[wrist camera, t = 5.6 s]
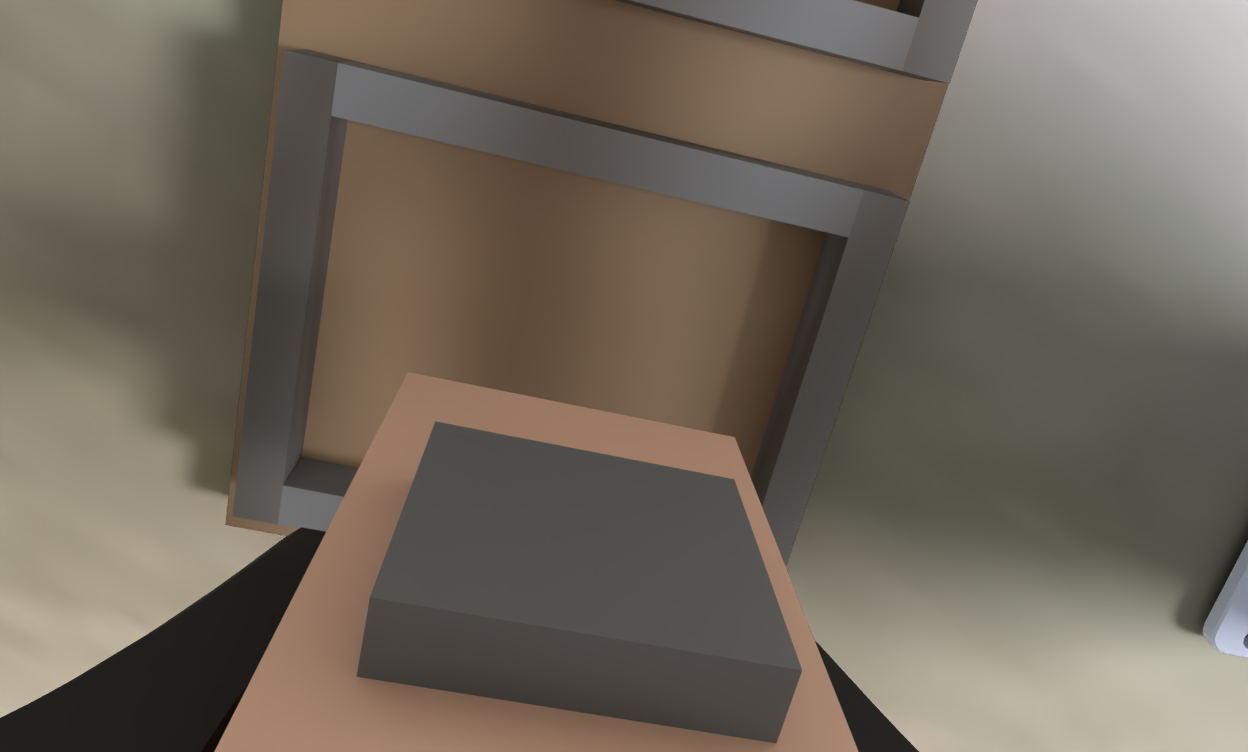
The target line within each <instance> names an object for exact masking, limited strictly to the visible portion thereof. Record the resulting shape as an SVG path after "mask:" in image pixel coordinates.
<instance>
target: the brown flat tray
mask: <svg viewBox="0 0 1248 752" xmlns="http://www.w3.org/2000/svg"><path fill="white" fill-rule="evenodd" d="M977 1H978V0H283V3H282V12H281V21H280V31H279V40H278V49H277V58H276V67H275V76H274V85H273V95H272V104H271V113H270V122H269V131H268V140H267V149H266V159H265V168H264V177H263V186H262V195H261V204H260V213H259V223H258V232H257V241H256V250H255V259H254V268H253V277H252V287H251V296H250V305H249V314H248V323H247V332H246V341H245V351H244V360H243V369H242V378H241V387H240V396H239V405H238V415H237V424H236V433H235V442H234V451H233V460H232V469H231V479H230V488H229V497H228V506H227V515H226V524H225V525H229V526H234V527H240V528H246V529H251V530H257V531H262V532H268V533H273V534H279V535H285V536H288V535H289V534H291V533H293V532H294V531H296V530H297V529H299V528H301V527H303V528H309V529H314V530H320V531H325V532H326V531H327V530H328V528H329V526H330V524H331V522H332V520H333V518H334V516H335V514H336V512H337V510H338V508H339V506H340V504H341V502H342V500H343V498H344V496H345V494H346V492H347V490H348V488H349V486H350V484H351V482H352V480H353V478H354V476H355V475H356V473H357V471H358V469H359V467H360V465H361V463H362V461H363V459H364V457H365V455H366V453H367V451H368V449H369V447H370V445H371V443H372V441H373V439H374V437H375V435H376V433H377V431H378V429H379V427H380V425H381V423H382V421H383V420H384V418H385V416H386V414H387V412H388V410H389V408H390V406H391V404H392V402H393V400H394V398H395V396H396V394H397V392H398V390H399V388H400V386H401V384H402V382H403V380H404V378H405V376H406V374H407V372H411V373H416V374H421V375H426V376H431V377H436V378H441V379H446V380H451V381H456V382H461V383H466V384H471V385H476V386H481V387H486V388H491V389H496V390H501V391H506V392H511V393H516V394H521V395H526V396H531V397H536V398H541V399H546V400H551V401H556V402H561V403H566V404H571V405H576V406H581V407H586V408H591V409H596V410H601V411H606V412H611V413H616V414H621V415H626V416H631V417H636V418H641V419H646V420H651V421H656V422H661V423H666V424H671V425H676V426H681V427H686V428H691V429H696V430H701V431H706V432H711V433H716V434H721V435H726V436H731V437H735V440H736V442H737V445H738V447H739V450H740V452H741V455H742V457H743V460H744V462H745V465H746V467H747V470H748V472H749V475H750V478H751V480H752V483H753V485H754V488H755V490H756V493H757V495H758V498H759V500H760V503H761V505H762V508H763V511H764V513H765V516H766V518H767V521H768V523H769V526H770V528H771V531H772V533H773V536H774V538H775V541H776V544H777V546H778V549H779V551H780V554H781V556H782V559H783V561H784V564H785V566H786V565H787V562H788V559H789V556H790V553H791V550H792V547H793V544H794V541H795V538H796V535H797V532H798V529H799V526H800V523H801V520H802V517H803V515H804V512H805V509H806V506H807V503H808V500H809V497H810V494H811V491H812V488H813V485H814V482H815V479H816V476H817V473H818V470H819V467H820V464H821V461H822V458H823V455H824V453H825V450H826V447H827V444H828V441H829V438H830V435H831V432H832V429H833V426H834V423H835V420H836V417H837V414H838V411H839V408H840V405H841V402H842V399H843V396H844V393H845V391H846V388H847V385H848V382H849V379H850V376H851V373H852V370H853V367H854V364H855V361H856V358H857V355H858V352H859V349H860V346H861V343H862V340H863V337H864V334H865V331H866V329H867V326H868V323H869V320H870V317H871V314H872V311H873V308H874V305H875V302H876V299H877V296H878V293H879V290H880V287H881V284H882V281H883V278H884V275H885V272H886V269H887V267H888V264H889V261H890V258H891V255H892V252H893V249H894V246H895V243H896V240H897V237H898V234H899V231H900V228H901V225H902V222H903V219H904V216H905V213H906V210H907V207H908V205H909V202H910V201H909V199H910V196H911V193H912V190H913V187H914V184H915V181H916V179H917V176H918V173H919V170H920V167H921V164H922V161H923V158H924V155H925V152H926V149H927V146H928V143H929V140H930V137H931V134H932V131H933V128H934V125H935V122H936V119H937V116H938V114H939V111H940V108H941V105H942V102H943V99H944V96H945V93H946V90H947V87H948V84H949V83H950V81H951V78H952V75H953V72H954V69H955V66H956V63H957V60H958V57H959V54H960V51H961V48H962V45H963V42H964V39H965V36H966V33H967V30H968V27H969V24H970V21H971V19H972V16H973V13H974V10H975V7H976V4H977Z"/></svg>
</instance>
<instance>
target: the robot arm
mask: <svg viewBox="0 0 1248 752" xmlns="http://www.w3.org/2000/svg"><path fill="white" fill-rule="evenodd" d="M325 533H326V532H325V531H320V530H314V529H309V528H303V527H301V528H299V529H297V530H296V531H294V532H293V533H291V534H289V535H288V536H286V537H285V538H284V539H282V540H281V541H280V542H278V543H277V544H275V545H274V546H273V547H271V548H270V549H269V550H267V551H266V552H265V553H263V554H262V555H261V556H259V557H258V558H257V559H255V560H254V561H253V562H251V563H250V564H249V565H247V566H246V567H245V568H243V569H242V570H240V571H239V572H238V573H236V574H235V575H233V576H232V577H231V578H229V579H228V580H227V581H225V582H224V583H222V584H221V585H220V586H218V587H217V588H215V589H214V590H213V591H211V592H210V593H208V594H207V595H205V596H204V597H202V598H201V599H199V600H198V601H196V602H195V603H193V604H192V605H191V606H189V607H188V608H186V609H185V610H183V611H182V612H180V613H179V614H177V615H176V616H174V617H173V618H171V619H170V620H168V621H167V622H166V623H164V624H163V625H161V626H160V627H158V628H156V629H155V630H153V631H152V632H150V633H149V634H147V635H146V636H144V637H142V638H141V639H139V640H137V641H136V642H134V643H132V644H131V645H129V646H128V647H126V648H124V649H123V650H121V651H119V652H118V653H116V654H114V655H113V656H111V657H109V658H108V659H106V660H104V661H103V662H101V663H100V664H98V665H96V666H95V667H93V668H91V669H90V670H88V671H86V672H85V673H83V674H81V675H80V676H78V677H76V678H75V679H73V680H71V681H69V682H68V683H66V684H64V685H62V686H61V687H59V688H57V689H55V690H53V691H52V692H50V693H48V694H46V695H44V696H42V697H41V698H39V699H37V700H35V701H33V702H31V703H29V704H27V705H25V706H23V707H21V708H19V709H17V710H15V711H13V712H11V713H9V714H7V715H5V716H3V717H1V718H0V752H214V751H215V749H216V747H217V746H218V744H219V742H220V740H221V738H222V736H223V734H224V732H225V730H226V728H227V726H228V724H229V722H230V720H231V718H232V716H233V714H234V712H235V710H236V708H237V706H238V704H239V702H240V700H241V698H242V696H243V694H244V693H245V691H246V689H247V687H248V685H249V683H250V681H251V679H252V677H253V675H254V673H255V671H256V669H257V667H258V665H259V663H260V661H261V659H262V657H263V655H264V653H265V651H266V649H267V647H268V645H269V643H270V641H271V639H272V638H273V636H274V634H275V632H276V630H277V628H278V626H279V624H280V622H281V620H282V618H283V616H284V614H285V612H286V610H287V608H288V606H289V604H290V602H291V600H292V598H293V596H294V594H295V592H296V590H297V588H298V586H299V584H300V583H301V581H302V579H303V577H304V575H305V573H306V571H307V569H308V567H309V565H310V563H311V561H312V559H313V557H314V555H315V553H316V551H317V549H318V547H319V545H320V543H321V541H322V539H323V537H324V535H325ZM1247 634H1248V541H1247V543H1246V545H1245V547H1244V549H1243V550H1242V552H1241V554H1240V556H1239V558H1238V560H1237V562H1236V564H1235V566H1234V568H1233V570H1232V572H1231V574H1230V575H1229V577H1228V579H1227V581H1226V583H1225V585H1224V587H1223V589H1222V591H1221V593H1220V595H1219V597H1218V598H1217V600H1216V602H1215V604H1214V606H1213V608H1212V610H1211V612H1210V614H1209V616H1208V618H1207V620H1206V622H1205V624H1204V627H1203V635H1204V638H1205V639H1206V640H1207V641H1208V642H1209V643H1210V644H1211V645H1212V646H1213V647H1214V648H1215V649H1216V650H1217V651H1219V652H1222V653H1225V654H1230V655H1236V656H1241V657H1246V658H1248V637H1246V635H1247ZM1245 637H1246V638H1245ZM815 643H816V645H817V648H818V650H819V653H820V655H821V658H822V660H823V663H824V665H825V668H826V670H827V673H828V676H829V678H830V681H831V683H832V686H833V688H834V691H835V693H836V696H837V698H838V701H839V703H840V706H841V708H842V711H843V714H844V716H845V719H846V721H847V724H848V726H849V729H850V731H851V734H852V736H853V739H854V741H855V744H856V747H857V749H858V752H919V751H918V750H917V749H916V748H915V747H914V746H913V745H912V744H911V743H910V742H909V741H908V740H907V739H906V738H905V737H904V736H903V735H902V734H901V733H900V732H899V731H898V730H897V729H896V727H895V726H894V725H893V724H892V723H891V722H890V721H889V720H888V719H887V718H886V717H885V716H884V715H883V714H882V713H881V712H880V710H879V709H878V708H877V707H876V706H875V705H874V704H873V703H872V702H871V701H870V700H869V699H868V698H867V696H866V695H865V694H864V693H863V692H862V691H861V690H860V689H859V688H858V687H857V686H856V684H855V683H854V682H853V681H852V680H851V679H850V678H849V677H848V676H847V675H846V674H845V672H844V671H843V670H842V669H841V668H840V667H839V666H838V665H837V664H836V663H835V662H834V660H833V659H832V658H831V657H830V656H829V655H828V654H827V653H826V652H825V651H824V650H823V648H822V647H821V646H820V645H819V644H818V643H817V642H816V641H815Z"/></svg>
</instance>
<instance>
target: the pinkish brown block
mask: <svg viewBox="0 0 1248 752" xmlns="http://www.w3.org/2000/svg"><path fill="white" fill-rule="evenodd" d="M214 752H858V749H857V747H856V744H855V741H854V739H853V736H852V734H851V731H850V729H849V726H848V724H847V721H846V719H845V716H844V714H843V711H842V708H841V706H840V703H839V701H838V698H837V696H836V693H835V691H834V688H833V686H832V683H831V681H830V678H829V676H828V673H827V670H826V668H825V665H824V663H823V660H822V658H821V655H820V653H819V650H818V648H817V645H816V643H815V640H814V637H813V635H812V632H811V630H810V627H809V625H808V622H807V620H806V617H805V615H804V612H803V610H802V607H801V604H800V602H799V599H798V597H797V594H796V592H795V589H794V587H793V584H792V582H791V579H790V577H789V574H788V571H787V569H786V566H785V564H784V561H783V559H782V556H781V554H780V551H779V549H778V546H777V544H776V541H775V538H774V536H773V533H772V531H771V528H770V526H769V523H768V521H767V518H766V516H765V513H764V511H763V508H762V505H761V503H760V500H759V498H758V495H757V493H756V490H755V488H754V485H753V483H752V480H751V478H750V475H749V472H748V470H747V467H746V465H745V462H744V460H743V457H742V455H741V452H740V450H739V447H738V445H737V442H736V440H735V437H731V436H726V435H721V434H716V433H711V432H706V431H701V430H696V429H691V428H686V427H681V426H676V425H671V424H666V423H661V422H656V421H651V420H646V419H641V418H636V417H631V416H626V415H621V414H616V413H611V412H606V411H601V410H596V409H591V408H586V407H581V406H576V405H571V404H566V403H561V402H556V401H551V400H546V399H541V398H536V397H531V396H526V395H521V394H516V393H511V392H506V391H501V390H496V389H491V388H486V387H481V386H476V385H471V384H466V383H461V382H456V381H451V380H446V379H441V378H436V377H431V376H426V375H421V374H416V373H411V372H407V374H406V376H405V378H404V380H403V382H402V384H401V386H400V388H399V390H398V392H397V394H396V396H395V398H394V400H393V402H392V404H391V406H390V408H389V410H388V412H387V414H386V416H385V418H384V420H383V421H382V423H381V425H380V427H379V429H378V431H377V433H376V435H375V437H374V439H373V441H372V443H371V445H370V447H369V449H368V451H367V453H366V455H365V457H364V459H363V461H362V463H361V465H360V467H359V469H358V471H357V473H356V475H355V476H354V478H353V480H352V482H351V484H350V486H349V488H348V490H347V492H346V494H345V496H344V498H343V500H342V502H341V504H340V506H339V508H338V510H337V512H336V514H335V516H334V518H333V520H332V522H331V524H330V526H329V528H328V530H327V531H326V533H325V535H324V537H323V539H322V541H321V543H320V545H319V547H318V549H317V551H316V553H315V555H314V557H313V559H312V561H311V563H310V565H309V567H308V569H307V571H306V573H305V575H304V577H303V579H302V581H301V583H300V584H299V586H298V588H297V590H296V592H295V594H294V596H293V598H292V600H291V602H290V604H289V606H288V608H287V610H286V612H285V614H284V616H283V618H282V620H281V622H280V624H279V626H278V628H277V630H276V632H275V634H274V636H273V638H272V639H271V641H270V643H269V645H268V647H267V649H266V651H265V653H264V655H263V657H262V659H261V661H260V663H259V665H258V667H257V669H256V671H255V673H254V675H253V677H252V679H251V681H250V683H249V685H248V687H247V689H246V691H245V693H244V694H243V696H242V698H241V700H240V702H239V704H238V706H237V708H236V710H235V712H234V714H233V716H232V718H231V720H230V722H229V724H228V726H227V728H226V730H225V732H224V734H223V736H222V738H221V740H220V742H219V744H218V746H217V747H216V749H215V751H214Z"/></svg>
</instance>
